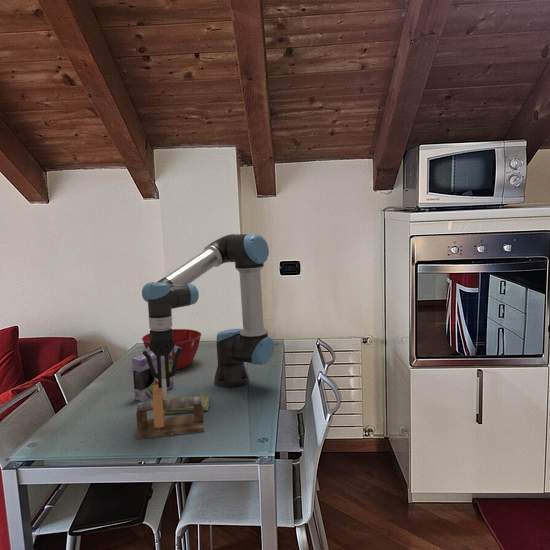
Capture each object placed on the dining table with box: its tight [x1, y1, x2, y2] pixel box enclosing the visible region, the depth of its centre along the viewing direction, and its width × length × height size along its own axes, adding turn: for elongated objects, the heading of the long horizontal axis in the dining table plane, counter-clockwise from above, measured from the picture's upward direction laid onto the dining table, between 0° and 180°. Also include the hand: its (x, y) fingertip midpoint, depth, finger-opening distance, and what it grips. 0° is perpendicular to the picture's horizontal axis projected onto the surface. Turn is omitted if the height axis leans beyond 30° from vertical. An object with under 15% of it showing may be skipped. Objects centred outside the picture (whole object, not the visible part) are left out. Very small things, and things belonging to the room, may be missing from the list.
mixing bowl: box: [141, 328, 202, 370], centre depth 239 cm, size 28×28×15 cm
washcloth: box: [164, 394, 210, 416], centre depth 186 cm, size 13×18×3 cm
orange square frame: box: [152, 385, 165, 428], centre depth 166 cm, size 3×11×11 cm, turn 12°
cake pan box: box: [131, 351, 175, 402], centre depth 200 cm, size 19×5×18 cm, turn 147°
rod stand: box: [135, 397, 205, 440], centre depth 167 cm, size 22×12×10 cm, turn 102°
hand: (164, 396), depth 166 cm, fingers closed
